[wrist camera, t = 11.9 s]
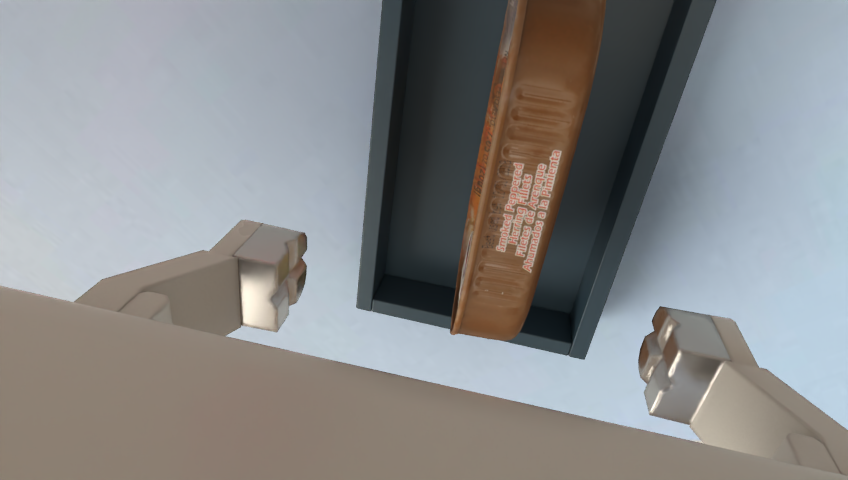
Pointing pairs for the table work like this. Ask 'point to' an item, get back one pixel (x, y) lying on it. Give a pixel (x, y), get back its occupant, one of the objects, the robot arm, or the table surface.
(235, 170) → the table surface
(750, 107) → the table surface
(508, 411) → the robot arm
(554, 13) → the tin
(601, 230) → the tray
